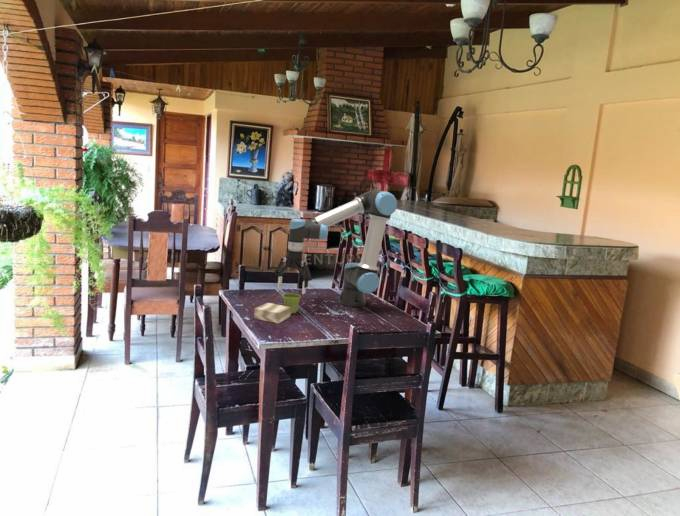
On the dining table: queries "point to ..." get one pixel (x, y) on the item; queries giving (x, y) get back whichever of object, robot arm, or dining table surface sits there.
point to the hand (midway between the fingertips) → (291, 291)
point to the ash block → (272, 312)
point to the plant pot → (291, 301)
